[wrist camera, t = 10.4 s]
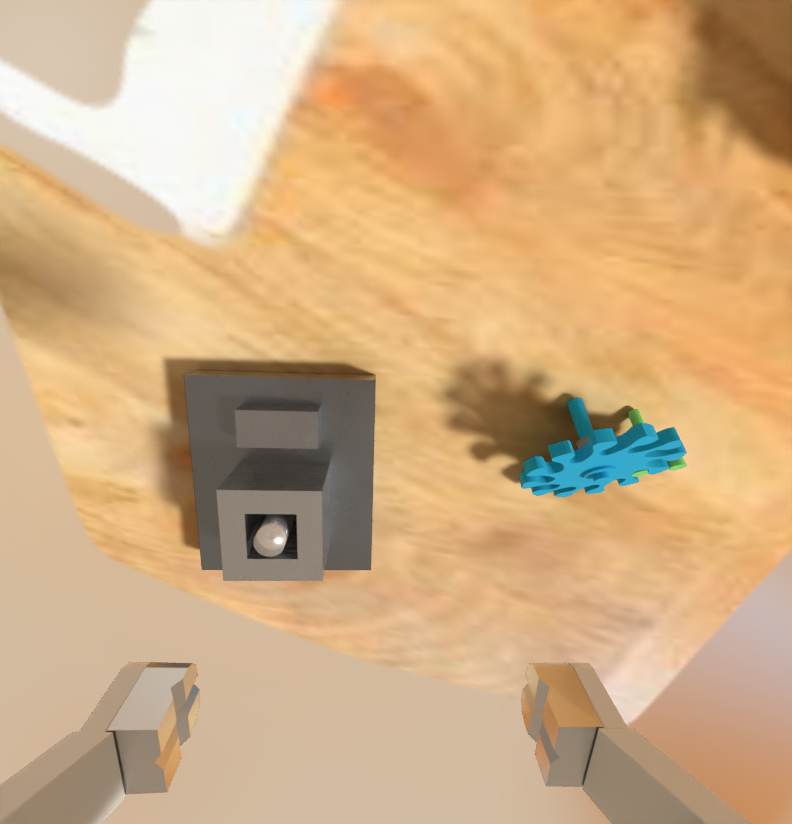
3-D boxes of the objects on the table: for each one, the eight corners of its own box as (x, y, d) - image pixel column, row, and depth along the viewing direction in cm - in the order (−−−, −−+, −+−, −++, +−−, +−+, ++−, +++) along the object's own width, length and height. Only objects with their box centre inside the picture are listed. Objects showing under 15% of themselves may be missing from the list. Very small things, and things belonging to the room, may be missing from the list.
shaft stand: (196, 370, 28) (145, 389, 22) (375, 375, 29) (375, 395, 22) (212, 553, 31) (171, 615, 25) (371, 553, 32) (370, 614, 26)
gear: (499, 506, 30) (575, 446, 21) (483, 433, 33) (544, 355, 24) (632, 502, 32) (749, 446, 24) (606, 434, 35) (702, 362, 26)
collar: (238, 463, 28) (216, 490, 24) (329, 465, 28) (321, 491, 24) (243, 543, 29) (223, 580, 25) (329, 544, 29) (322, 580, 26)
